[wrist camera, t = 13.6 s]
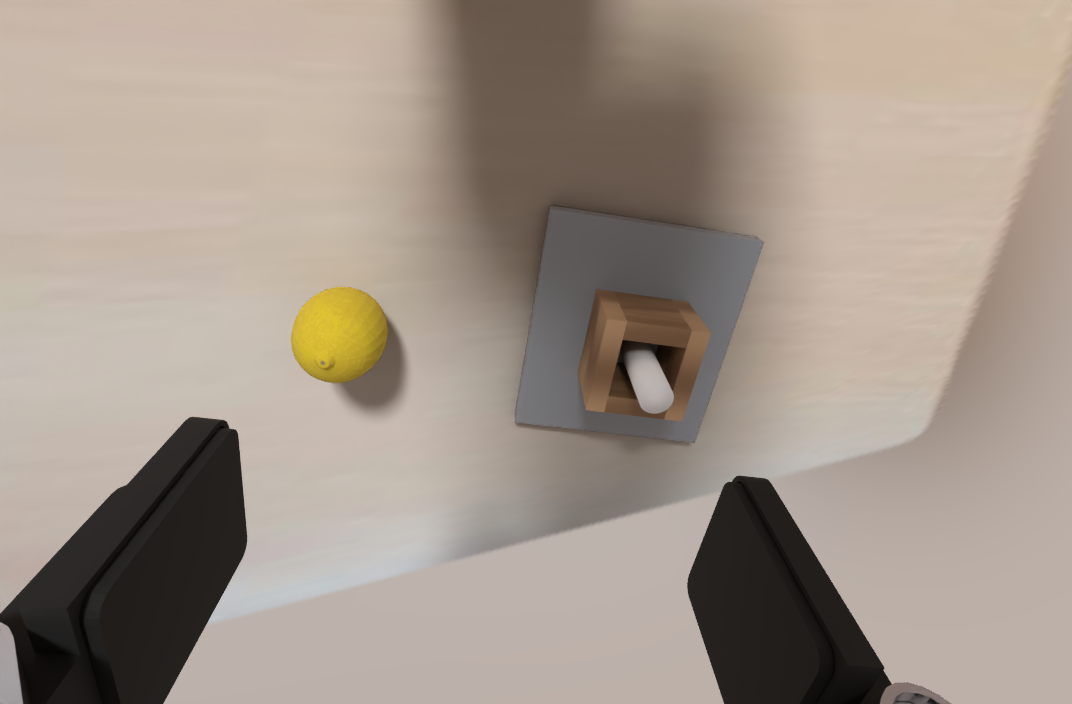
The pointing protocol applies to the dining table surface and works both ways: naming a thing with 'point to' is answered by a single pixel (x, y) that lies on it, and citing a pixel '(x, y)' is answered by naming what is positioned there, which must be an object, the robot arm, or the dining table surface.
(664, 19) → the dining table surface
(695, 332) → the brown wooden hollow block
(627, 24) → the dining table surface
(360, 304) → the lemon
